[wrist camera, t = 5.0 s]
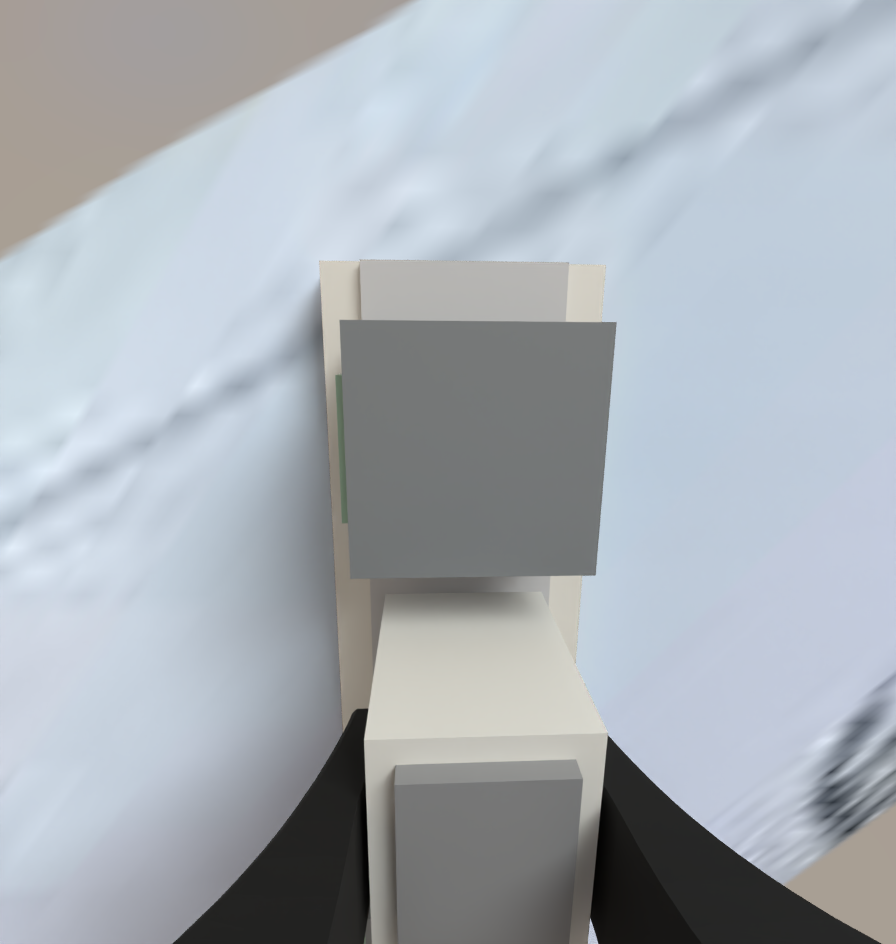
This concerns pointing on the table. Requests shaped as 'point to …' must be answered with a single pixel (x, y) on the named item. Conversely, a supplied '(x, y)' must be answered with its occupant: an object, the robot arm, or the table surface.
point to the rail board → (461, 437)
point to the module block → (480, 774)
